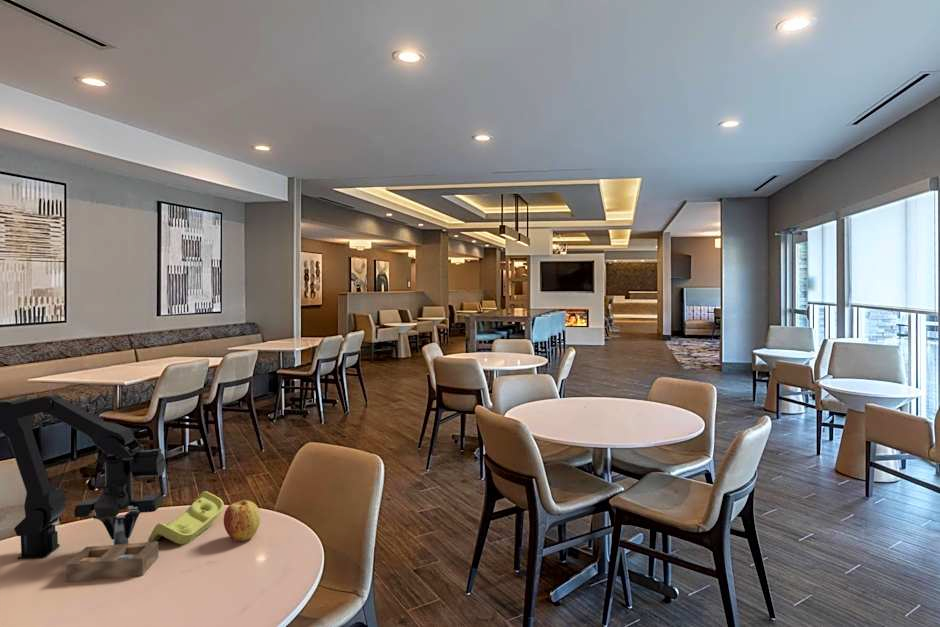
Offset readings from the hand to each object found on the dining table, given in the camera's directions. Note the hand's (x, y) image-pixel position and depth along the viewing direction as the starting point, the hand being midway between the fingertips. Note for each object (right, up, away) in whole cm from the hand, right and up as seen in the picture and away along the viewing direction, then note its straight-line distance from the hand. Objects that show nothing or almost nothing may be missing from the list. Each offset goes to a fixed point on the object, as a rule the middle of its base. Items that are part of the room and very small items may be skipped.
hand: (120, 538), depth 143 cm
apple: (+30, -2, +4) cm, 30 cm away
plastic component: (+13, -2, +10) cm, 16 cm away
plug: (0, -2, 0) cm, 2 cm away
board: (+6, -2, -12) cm, 14 cm away
